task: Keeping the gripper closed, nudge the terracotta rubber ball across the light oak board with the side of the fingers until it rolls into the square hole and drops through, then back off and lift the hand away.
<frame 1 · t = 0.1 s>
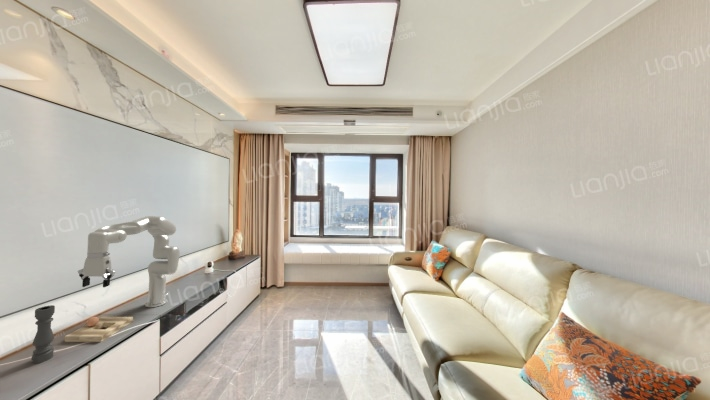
hand: (96, 286, 123), 31 cm above the table, fingers open, 9 cm apart
board: (101, 330, 134), on the table
ball: (92, 321, 133), point 5 cm above the table, touching board
candle holder: (42, 359, 111), on the table
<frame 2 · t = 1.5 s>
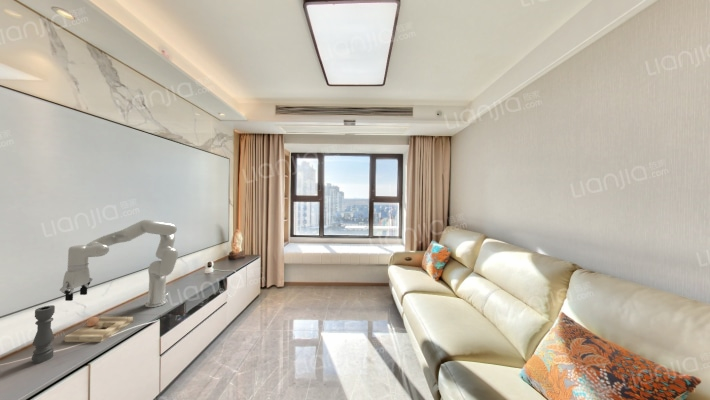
hand: (76, 297, 132), 20 cm above the table, fingers open, 6 cm apart
nothing on the table moved.
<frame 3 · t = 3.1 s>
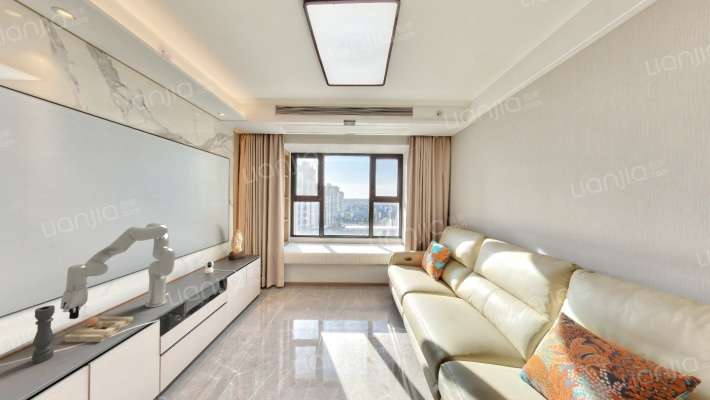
hand: (73, 318, 132), 8 cm above the table, fingers closed
nothing on the table moved.
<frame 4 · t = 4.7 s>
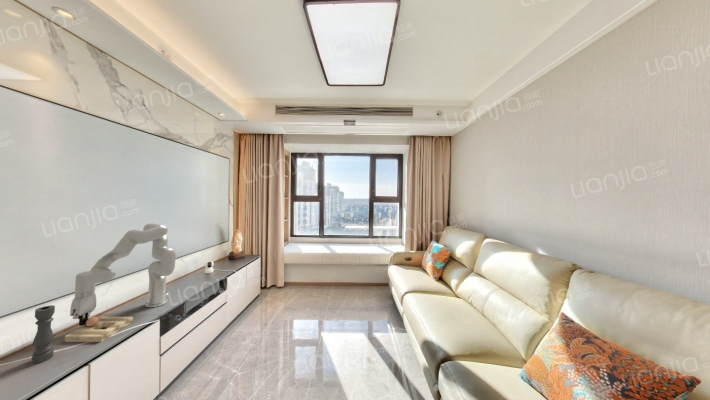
hand: (83, 324, 133), 4 cm above the table, fingers closed
nothing on the table moved.
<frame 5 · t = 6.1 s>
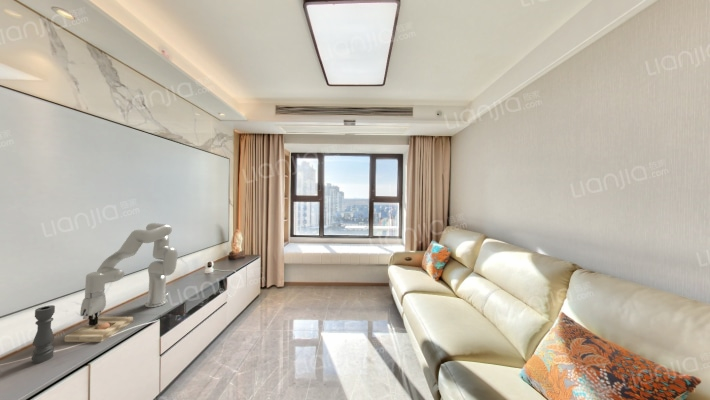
hand: (93, 324, 133), 4 cm above the table, fingers closed
ball: (103, 327, 133), point 2 cm above the table, tilted 173°
everything else where it was.
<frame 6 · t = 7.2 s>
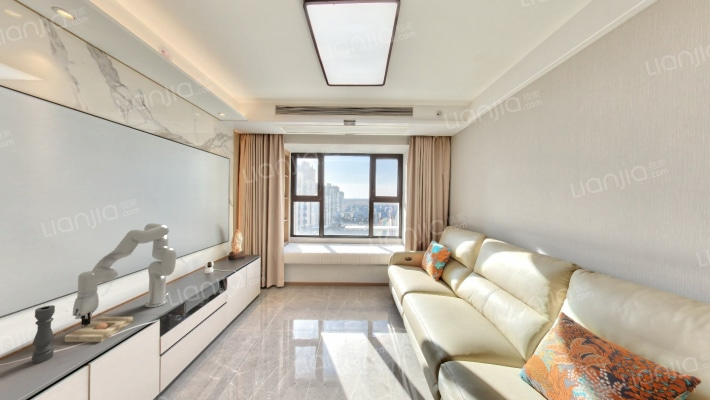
hand: (85, 324, 133), 4 cm above the table, fingers closed
ball: (101, 327, 133), point 2 cm above the table, tilted 153°
everything else where it was.
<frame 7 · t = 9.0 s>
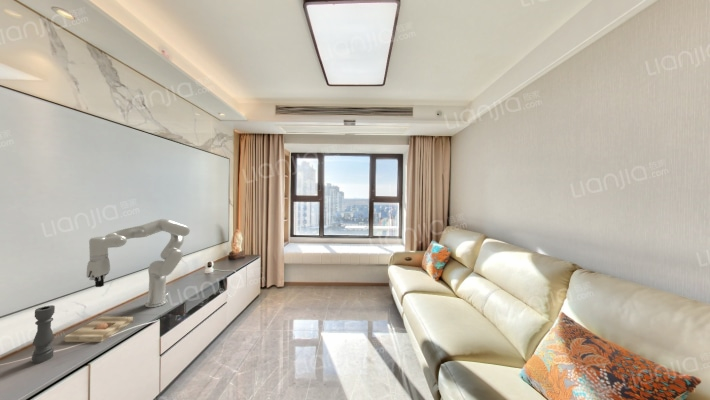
hand: (99, 286, 140), 23 cm above the table, fingers closed
nothing on the table moved.
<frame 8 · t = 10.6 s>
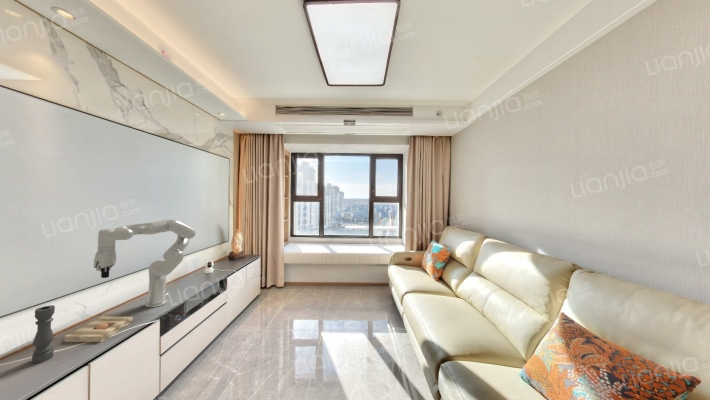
hand: (105, 277, 144), 27 cm above the table, fingers closed
nothing on the table moved.
at the end: ball inside the target area on the board (1.0 cm from its centre), point 2.5 cm above the board's base; candle holder moved 0.2 cm from its start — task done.
